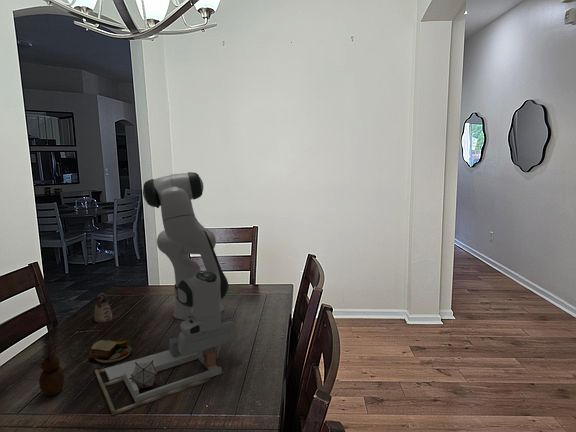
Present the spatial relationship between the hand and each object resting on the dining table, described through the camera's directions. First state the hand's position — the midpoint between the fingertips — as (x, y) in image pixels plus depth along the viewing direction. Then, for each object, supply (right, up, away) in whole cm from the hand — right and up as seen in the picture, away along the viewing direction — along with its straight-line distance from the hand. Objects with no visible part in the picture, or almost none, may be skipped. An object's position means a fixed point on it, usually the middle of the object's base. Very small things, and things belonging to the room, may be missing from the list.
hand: (209, 359), depth 132 cm
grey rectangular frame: (-10, -3, -7) cm, 13 cm away
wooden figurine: (-44, -5, -15) cm, 47 cm away
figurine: (-54, +3, +38) cm, 66 cm away
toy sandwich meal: (-37, -2, +7) cm, 37 cm away
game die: (-17, -4, -12) cm, 22 cm away
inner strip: (-22, -2, 0) cm, 22 cm away
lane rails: (-17, -3, -6) cm, 19 cm away
